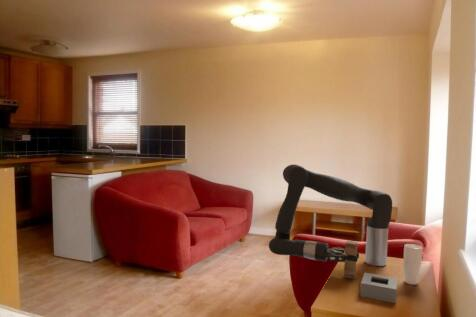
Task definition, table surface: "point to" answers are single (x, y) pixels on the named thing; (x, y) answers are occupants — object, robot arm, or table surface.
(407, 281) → the drinking glass
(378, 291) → the box
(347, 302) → the table surface
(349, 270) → the tall brown pillar
